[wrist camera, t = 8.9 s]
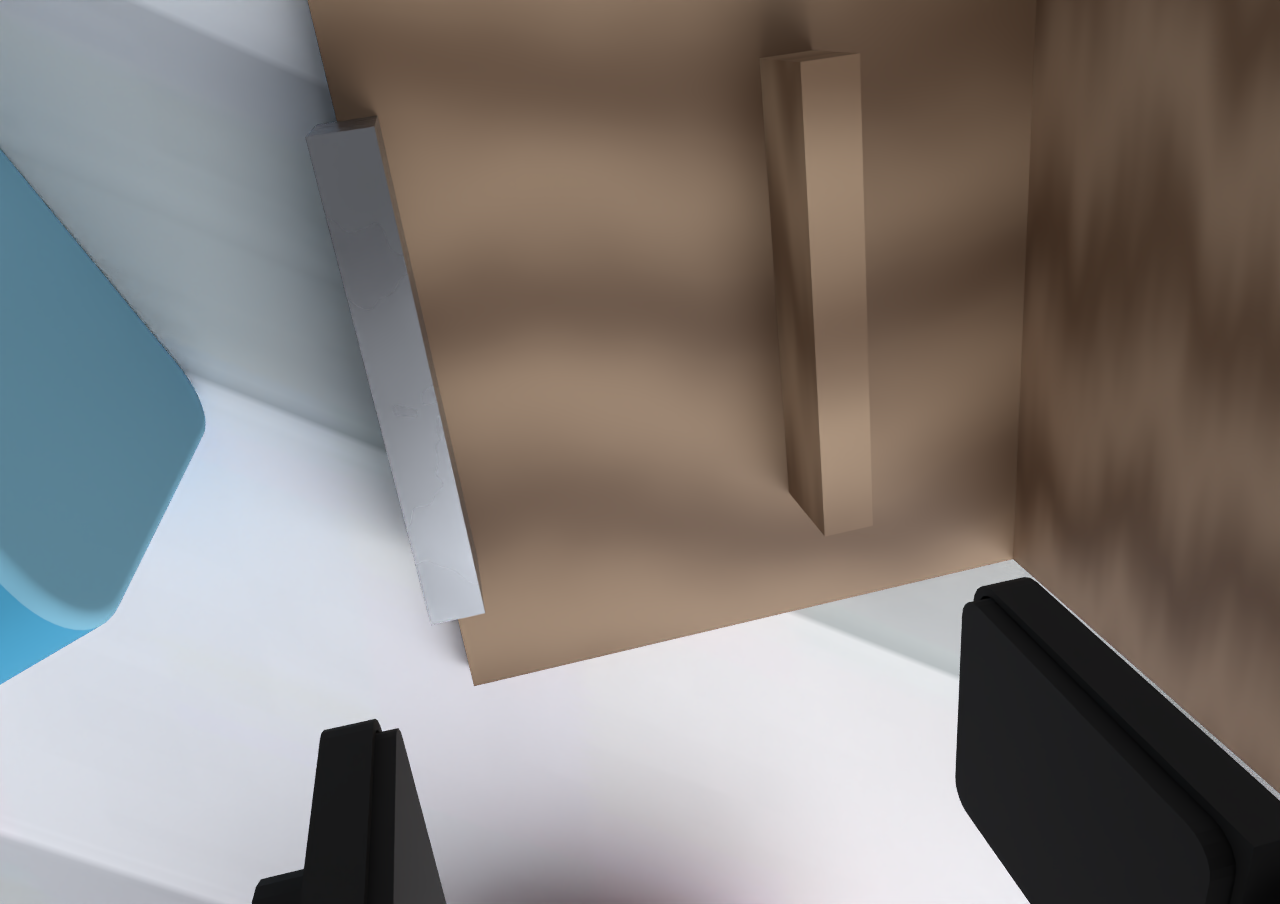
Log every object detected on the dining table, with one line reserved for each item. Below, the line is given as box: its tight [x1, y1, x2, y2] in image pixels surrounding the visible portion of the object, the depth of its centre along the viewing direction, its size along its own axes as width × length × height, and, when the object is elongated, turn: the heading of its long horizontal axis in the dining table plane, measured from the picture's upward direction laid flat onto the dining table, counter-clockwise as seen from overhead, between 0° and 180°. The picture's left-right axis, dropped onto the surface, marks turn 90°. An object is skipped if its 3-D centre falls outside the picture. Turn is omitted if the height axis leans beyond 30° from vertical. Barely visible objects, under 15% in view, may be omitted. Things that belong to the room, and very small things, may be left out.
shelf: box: [308, 0, 1280, 793], centre depth 23 cm, size 22×21×15 cm
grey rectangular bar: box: [305, 115, 485, 625], centre depth 26 cm, size 13×2×3 cm, turn 7°
